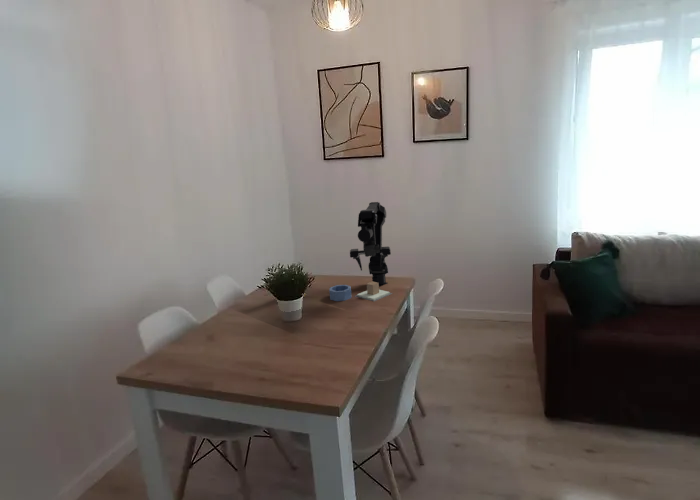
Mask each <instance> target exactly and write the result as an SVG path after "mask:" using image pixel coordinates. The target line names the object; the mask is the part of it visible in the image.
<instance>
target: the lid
mask: <svg viewBox="0 0 700 500" xmlns="http://www.w3.org/2000/svg"><path fill="white" fill-rule="evenodd" d="M390 293H391V292H390V291H387V290H383V289H380V287H379V283H377V282H373V281H370V282H367V283H366V290H365V291H362V292H360V293H357V294H356V295H357V296H359V297H363V298H367V299H370V300H376V299H378V298H381V297H383V296H385V295H388V294H390ZM388 296H389V295H388ZM359 297H358V298H359ZM381 299H382V298H381ZM370 300H369V301H370Z"/></svg>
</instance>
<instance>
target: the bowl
mask: <svg viewBox="0 0 700 500" xmlns="http://www.w3.org/2000/svg"><path fill="white" fill-rule="evenodd" d="M351 287H352V286H351V285H347V284H336V285H334V286H330V287H329V289H328V290H329V299H330V301H334V302H345V301H348V300H351V299H352V288H351Z"/></svg>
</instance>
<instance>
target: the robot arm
mask: <svg viewBox="0 0 700 500" xmlns="http://www.w3.org/2000/svg"><path fill="white" fill-rule="evenodd" d="M357 218H358V220H357V227H358V228H361V229H360V230H359V231H358V233H357V238H358V240H359V241H360V242H362V243H363V247H362V249H363V250H359V248H351V249H350V250H349V256H350V257H349V258H352V259H353V260H356V262H357V264H358V267H359V268H360V271H363V267H362V260H361V257H360V256H361V255H364V256H365V257H366V258H367V257H369V262H368V271H369V275H371V278H372V281H373V282H377V283H379V288H380V287H382V286H385V285H388V284H389V283H388V282H386V275H387V274H389V268H388V265H387V262H386V259H385V258H387V257H388V256H389V255H391V248H390V247H391V246H383V226H384V224H385V223H386V218H387V210H386V208H385V206H384V205H381V202H379V201H372V202H369V203H368V206H367V207H366V209H362V210H360V212H359V213H358V217H357ZM372 281H371V282H372Z"/></svg>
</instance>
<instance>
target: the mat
mask: <svg viewBox="0 0 700 500" xmlns="http://www.w3.org/2000/svg"><path fill="white" fill-rule="evenodd" d="M390 295H393V292H390V294H388V295H385V296H383V297H381V298H378V299H376V300H370V299H367V298H363V297H359V296H357V294H356V295H354V297H355V298H359V299H363V300H366V301H371V302H377V301H379V300H381V299H383V298H386V297H388V296H390Z"/></svg>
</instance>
